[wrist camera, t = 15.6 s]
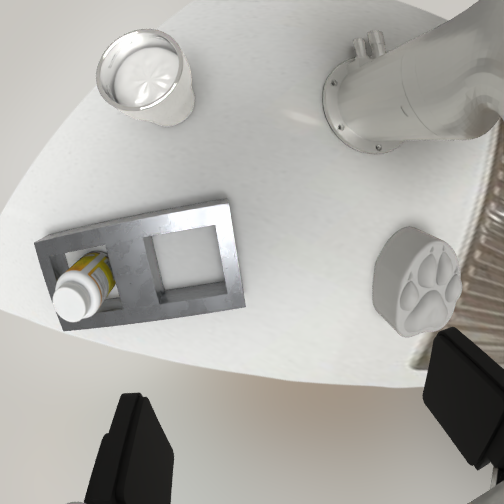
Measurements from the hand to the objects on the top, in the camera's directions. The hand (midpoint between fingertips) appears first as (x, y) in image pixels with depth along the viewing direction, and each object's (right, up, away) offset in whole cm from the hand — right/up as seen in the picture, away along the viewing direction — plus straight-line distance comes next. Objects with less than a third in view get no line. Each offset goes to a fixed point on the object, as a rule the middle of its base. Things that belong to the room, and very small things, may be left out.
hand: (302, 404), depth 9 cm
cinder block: (-15, +3, +29) cm, 33 cm away
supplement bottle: (-21, +2, +29) cm, 36 cm away
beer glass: (-11, +22, +24) cm, 35 cm away
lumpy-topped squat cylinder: (+20, +2, +34) cm, 39 cm away
